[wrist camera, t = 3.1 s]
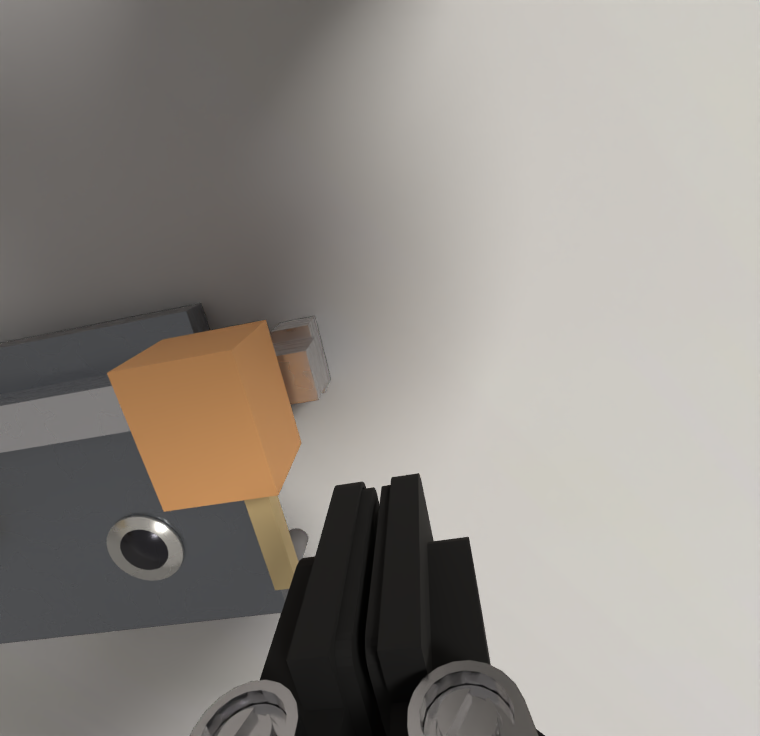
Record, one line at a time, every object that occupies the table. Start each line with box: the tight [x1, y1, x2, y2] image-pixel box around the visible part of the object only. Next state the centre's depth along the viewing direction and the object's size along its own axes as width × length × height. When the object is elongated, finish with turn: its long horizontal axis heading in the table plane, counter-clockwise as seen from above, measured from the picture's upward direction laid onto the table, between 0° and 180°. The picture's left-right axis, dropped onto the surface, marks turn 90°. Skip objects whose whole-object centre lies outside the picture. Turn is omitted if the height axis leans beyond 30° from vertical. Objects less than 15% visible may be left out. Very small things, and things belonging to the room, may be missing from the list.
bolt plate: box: [0, 303, 331, 644], centre depth 22 cm, size 27×16×7 cm, turn 102°
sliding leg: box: [107, 320, 308, 590], centre depth 19 cm, size 4×11×5 cm, turn 12°
